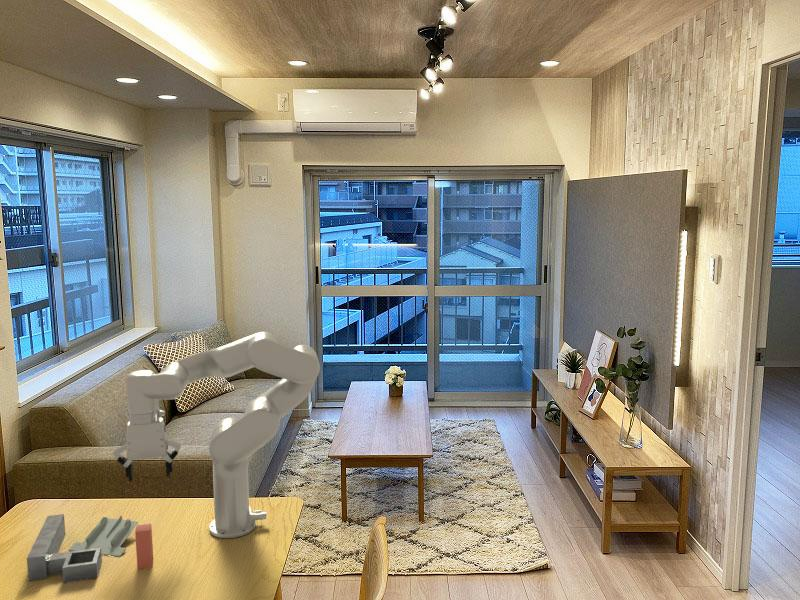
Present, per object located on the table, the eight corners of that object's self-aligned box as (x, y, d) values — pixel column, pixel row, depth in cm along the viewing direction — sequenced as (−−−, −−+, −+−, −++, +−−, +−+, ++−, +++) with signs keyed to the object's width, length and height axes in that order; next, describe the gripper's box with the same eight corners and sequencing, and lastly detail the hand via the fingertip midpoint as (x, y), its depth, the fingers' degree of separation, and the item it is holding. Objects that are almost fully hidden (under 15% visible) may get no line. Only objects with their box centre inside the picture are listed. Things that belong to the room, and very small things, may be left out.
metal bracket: (96, 510, 181) (145, 515, 179) (101, 525, 184) (149, 530, 181) (63, 549, 169) (115, 555, 166) (69, 565, 171) (120, 571, 168)
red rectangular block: (153, 559, 167) (151, 523, 165) (152, 566, 163) (150, 530, 162) (138, 561, 166) (136, 525, 164) (137, 569, 162) (135, 532, 161)
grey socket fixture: (111, 528, 182) (110, 508, 181) (97, 578, 158) (95, 555, 157) (49, 536, 178) (47, 515, 177) (25, 588, 154) (23, 565, 153)
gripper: (179, 409, 179) (184, 467, 182) (112, 415, 175) (118, 475, 178) (177, 417, 172) (182, 478, 174) (107, 424, 168) (113, 486, 170)
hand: (150, 476), depth 176 cm, fingers open, 9 cm apart
